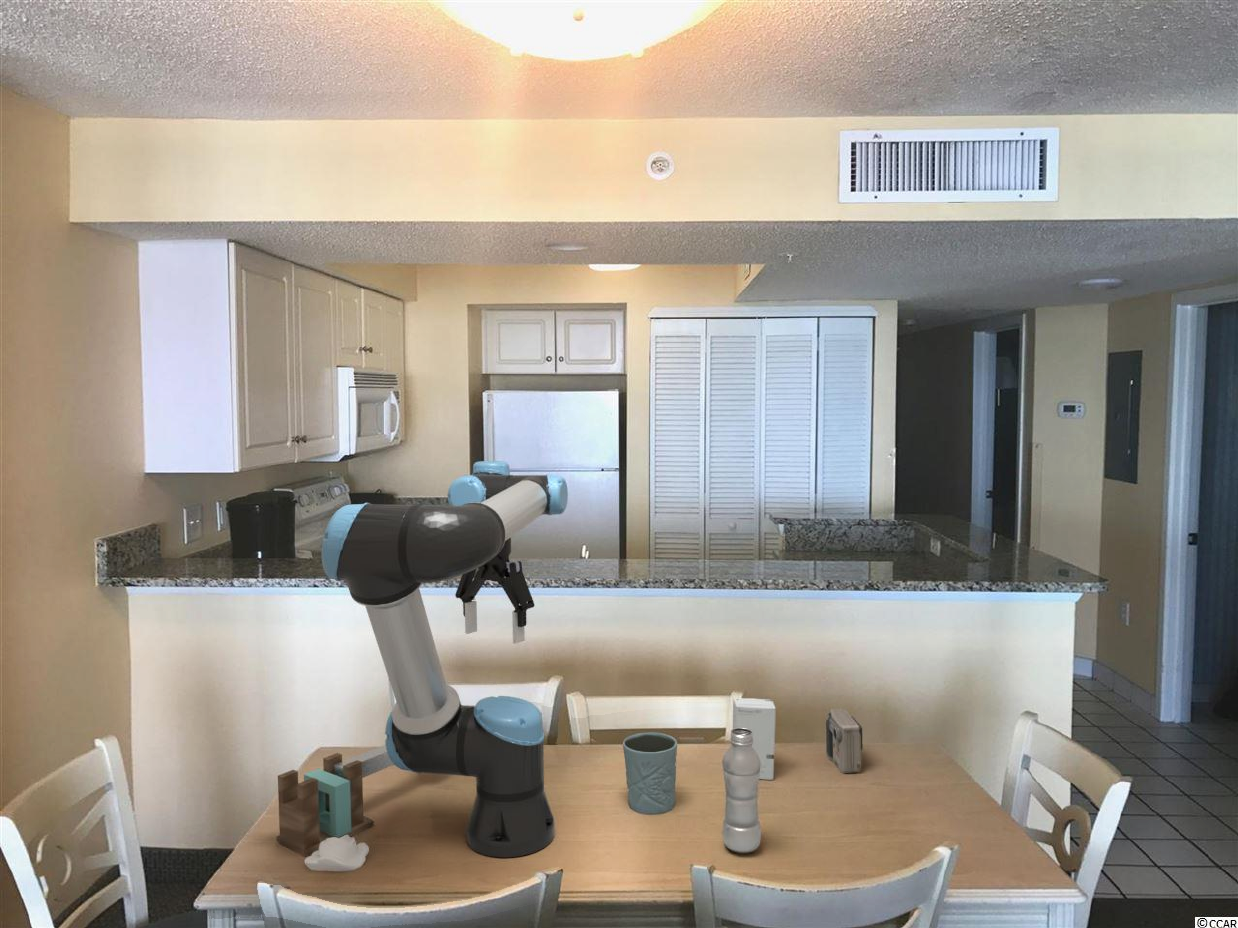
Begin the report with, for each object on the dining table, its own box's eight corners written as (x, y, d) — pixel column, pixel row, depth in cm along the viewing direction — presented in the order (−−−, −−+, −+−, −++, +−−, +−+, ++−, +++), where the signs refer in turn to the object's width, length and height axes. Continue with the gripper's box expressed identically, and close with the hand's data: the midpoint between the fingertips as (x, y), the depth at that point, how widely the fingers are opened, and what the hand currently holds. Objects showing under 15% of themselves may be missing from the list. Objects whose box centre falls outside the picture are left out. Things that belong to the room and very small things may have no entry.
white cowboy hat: (314, 857, 136) (296, 834, 144) (315, 885, 136) (297, 860, 144) (376, 838, 142) (355, 816, 149) (377, 865, 142) (356, 841, 150)
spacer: (336, 838, 148) (335, 786, 148) (305, 823, 154) (303, 774, 153) (351, 831, 151) (349, 780, 150) (320, 817, 156) (318, 768, 156)
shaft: (348, 792, 153) (347, 764, 152) (331, 785, 156) (330, 757, 155) (454, 746, 173) (453, 722, 172) (436, 741, 176) (436, 717, 175)
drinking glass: (679, 816, 157) (679, 751, 157) (623, 817, 157) (623, 752, 157) (675, 791, 168) (675, 731, 167) (623, 792, 168) (622, 731, 167)
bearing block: (307, 857, 144) (305, 787, 143) (276, 842, 149) (274, 774, 148) (374, 825, 155) (372, 760, 154) (342, 812, 160) (341, 748, 159)
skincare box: (733, 779, 173) (733, 706, 172) (731, 767, 179) (731, 696, 178) (775, 780, 172) (776, 707, 171) (772, 767, 178) (772, 697, 177)
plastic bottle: (732, 860, 142) (732, 741, 141) (716, 841, 148) (715, 726, 147) (768, 854, 144) (768, 736, 142) (750, 835, 150) (750, 722, 149)
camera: (823, 752, 186) (824, 707, 185) (850, 752, 186) (851, 706, 185) (836, 775, 175) (837, 726, 174) (865, 775, 175) (865, 726, 174)
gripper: (550, 538, 175) (552, 641, 176) (463, 529, 189) (465, 624, 191) (525, 543, 169) (527, 650, 170) (437, 533, 183) (439, 632, 185)
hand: (494, 637), depth 181 cm, fingers open, 13 cm apart
